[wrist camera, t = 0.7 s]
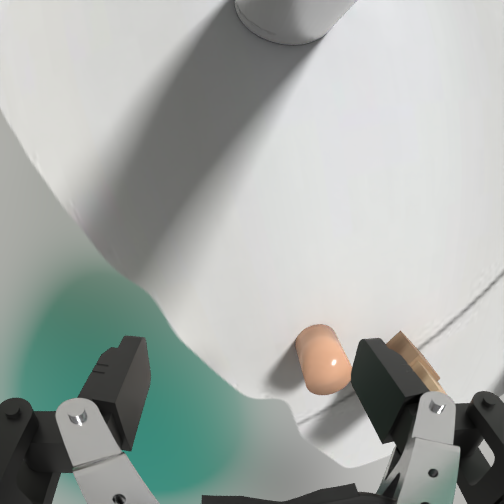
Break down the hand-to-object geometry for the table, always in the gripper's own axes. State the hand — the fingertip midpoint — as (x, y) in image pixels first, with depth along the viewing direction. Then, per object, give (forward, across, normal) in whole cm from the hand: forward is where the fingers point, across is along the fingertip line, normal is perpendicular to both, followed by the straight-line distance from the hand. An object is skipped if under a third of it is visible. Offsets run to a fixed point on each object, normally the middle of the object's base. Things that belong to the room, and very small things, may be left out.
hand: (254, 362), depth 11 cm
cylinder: (+18, -9, +11) cm, 23 cm away
